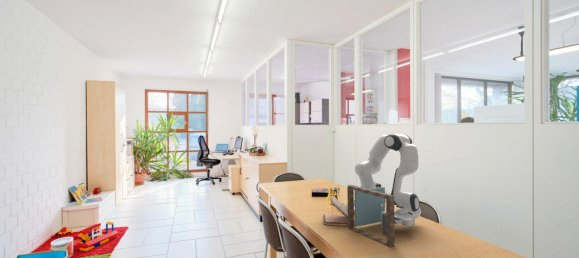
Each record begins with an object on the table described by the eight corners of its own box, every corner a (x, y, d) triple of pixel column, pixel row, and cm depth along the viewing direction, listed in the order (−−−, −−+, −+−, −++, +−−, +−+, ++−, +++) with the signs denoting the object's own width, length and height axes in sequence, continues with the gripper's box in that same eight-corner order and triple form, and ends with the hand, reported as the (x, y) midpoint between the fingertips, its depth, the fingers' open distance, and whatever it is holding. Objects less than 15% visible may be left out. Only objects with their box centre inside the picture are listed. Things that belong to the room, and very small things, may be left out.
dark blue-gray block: (382, 233, 162) (381, 213, 162) (388, 231, 166) (388, 212, 165) (388, 235, 159) (388, 216, 158) (394, 233, 162) (394, 214, 162)
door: (357, 227, 168) (357, 191, 167) (354, 226, 171) (354, 190, 170) (387, 221, 177) (386, 187, 177) (383, 220, 180) (383, 186, 180)
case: (355, 227, 174) (355, 202, 174) (323, 225, 177) (322, 201, 177) (352, 216, 194) (352, 194, 194) (323, 215, 197) (323, 194, 197)
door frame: (347, 228, 171) (347, 185, 171) (351, 227, 173) (350, 184, 172) (391, 247, 144) (390, 196, 143) (394, 245, 145) (394, 195, 145)
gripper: (388, 206, 178) (374, 210, 171) (417, 215, 161) (403, 220, 154) (388, 216, 178) (374, 220, 171) (417, 225, 161) (403, 230, 154)
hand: (388, 220), depth 162 cm, fingers open, 8 cm apart
